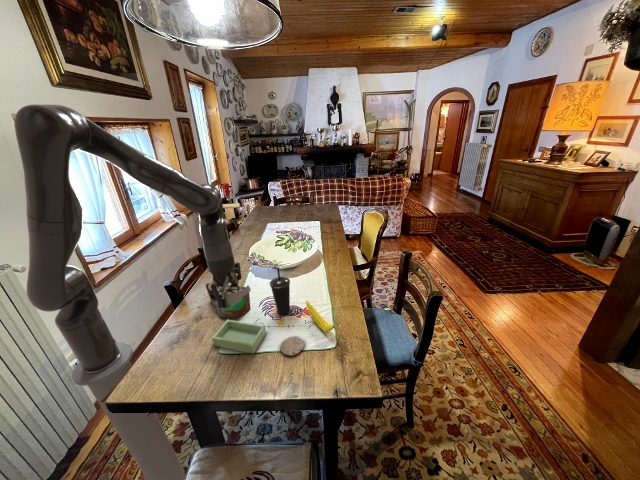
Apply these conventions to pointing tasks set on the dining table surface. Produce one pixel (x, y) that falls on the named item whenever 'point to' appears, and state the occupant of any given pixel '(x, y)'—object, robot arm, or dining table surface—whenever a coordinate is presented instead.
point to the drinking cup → (281, 293)
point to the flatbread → (292, 345)
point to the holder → (239, 336)
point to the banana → (318, 318)
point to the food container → (236, 301)
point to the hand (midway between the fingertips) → (230, 300)
